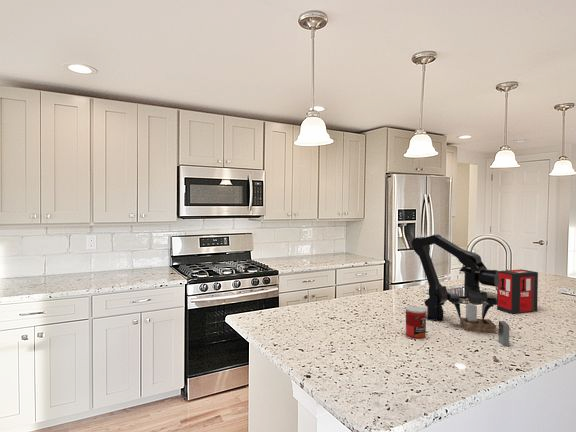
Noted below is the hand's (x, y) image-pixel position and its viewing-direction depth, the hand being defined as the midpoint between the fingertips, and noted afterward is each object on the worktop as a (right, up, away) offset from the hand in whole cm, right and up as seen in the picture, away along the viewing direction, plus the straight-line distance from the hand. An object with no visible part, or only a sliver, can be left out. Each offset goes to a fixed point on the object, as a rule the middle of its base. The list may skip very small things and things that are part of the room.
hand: (471, 318), depth 157 cm
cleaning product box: (+37, -4, +27) cm, 46 cm away
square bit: (0, -4, 0) cm, 4 cm away
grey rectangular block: (+3, -5, -18) cm, 19 cm away
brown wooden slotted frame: (+2, -4, -1) cm, 5 cm away
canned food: (-28, -4, -10) cm, 30 cm away
